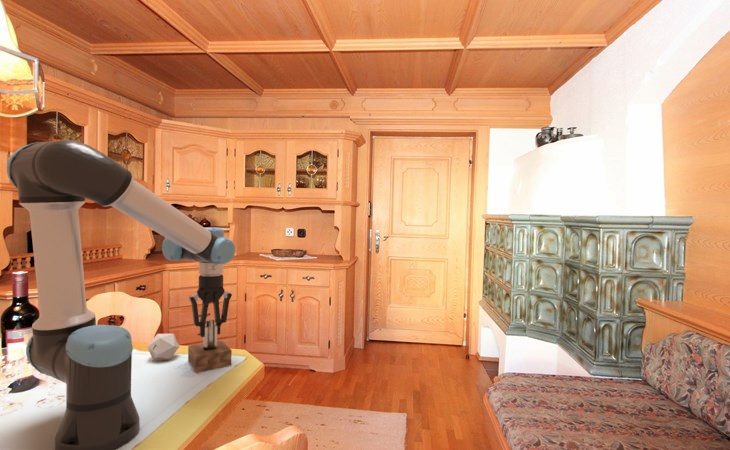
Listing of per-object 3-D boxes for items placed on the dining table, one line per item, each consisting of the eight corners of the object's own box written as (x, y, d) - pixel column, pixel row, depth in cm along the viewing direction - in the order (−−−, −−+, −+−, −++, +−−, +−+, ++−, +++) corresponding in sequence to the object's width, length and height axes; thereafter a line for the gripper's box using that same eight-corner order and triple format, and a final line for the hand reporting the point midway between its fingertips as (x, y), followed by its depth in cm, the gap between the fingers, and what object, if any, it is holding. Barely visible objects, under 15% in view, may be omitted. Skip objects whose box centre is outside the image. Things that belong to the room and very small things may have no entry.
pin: (206, 358, 123) (207, 321, 123) (205, 355, 125) (205, 319, 125) (214, 356, 125) (215, 320, 124) (212, 354, 127) (213, 318, 126)
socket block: (195, 372, 117) (195, 356, 117) (188, 360, 126) (188, 346, 126) (231, 365, 124) (231, 350, 123) (222, 354, 133) (222, 340, 132)
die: (147, 358, 129) (139, 341, 123) (169, 339, 135) (163, 322, 129) (163, 371, 126) (156, 354, 120) (186, 351, 132) (180, 334, 126)
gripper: (188, 278, 116) (186, 353, 117) (238, 274, 125) (236, 344, 126) (183, 274, 123) (182, 346, 123) (231, 271, 132) (230, 338, 132)
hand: (209, 345), depth 125 cm, fingers closed on pin, 2 cm apart
